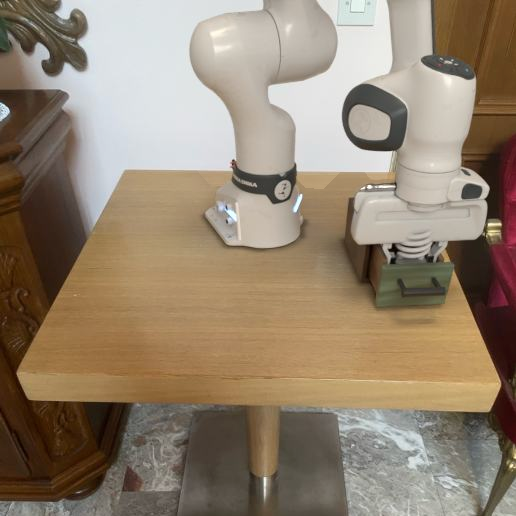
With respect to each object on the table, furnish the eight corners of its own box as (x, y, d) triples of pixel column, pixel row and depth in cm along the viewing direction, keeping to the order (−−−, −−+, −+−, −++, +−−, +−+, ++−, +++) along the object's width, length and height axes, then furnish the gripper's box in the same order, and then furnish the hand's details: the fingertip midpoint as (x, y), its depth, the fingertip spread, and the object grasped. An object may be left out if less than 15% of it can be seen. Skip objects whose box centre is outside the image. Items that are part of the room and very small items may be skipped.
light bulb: (391, 295, 87) (404, 229, 79) (384, 277, 91) (395, 213, 83) (425, 295, 87) (441, 229, 79) (417, 276, 91) (431, 212, 83)
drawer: (453, 319, 83) (464, 280, 79) (383, 322, 83) (390, 283, 78) (418, 258, 98) (425, 223, 93) (357, 261, 97) (362, 225, 93)
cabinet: (430, 279, 94) (441, 233, 88) (360, 282, 93) (367, 236, 88) (405, 237, 106) (413, 195, 100) (344, 240, 105) (348, 197, 100)
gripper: (359, 193, 74) (350, 276, 83) (501, 187, 75) (476, 270, 84) (351, 176, 79) (343, 256, 88) (483, 171, 80) (462, 251, 89)
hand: (409, 263), depth 86 cm, fingers closed on light bulb, 5 cm apart
